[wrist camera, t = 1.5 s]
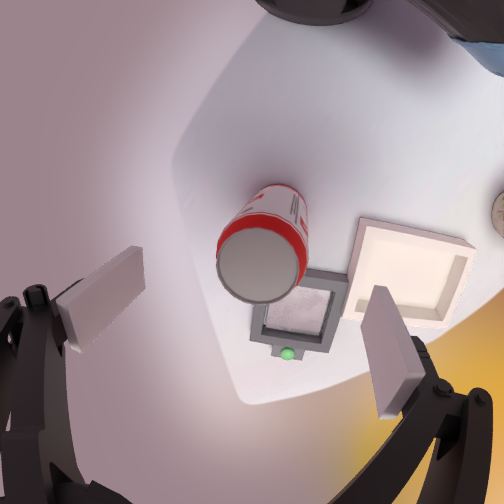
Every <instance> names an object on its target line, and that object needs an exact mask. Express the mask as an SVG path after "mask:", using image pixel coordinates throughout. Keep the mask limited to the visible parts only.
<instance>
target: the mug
mask: <svg viewBox="0 0 504 504" xmlns="http://www.w3.org/2000/svg"><path fill="white" fill-rule="evenodd" d="M492 222H493V226H494V228H495V229H496V231H497V232H498V233H499V234H500V235H501V236H502V237H503V238H504V192H503V193H501V194H500V195H499V196H498V197H497V199H496V200H495V203H494V205H493V209H492Z"/></svg>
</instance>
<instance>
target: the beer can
mask: <svg viewBox="0 0 504 504" xmlns="http://www.w3.org/2000/svg"><path fill="white" fill-rule="evenodd" d="M216 259H217V261H216V268H217V273H218V278H219V279H220V281H221V283H222V285H223V286H224V288H225V289H226V290H227V291H228V292H229V293H230V294H231V295H232V296H233V297H235V298H237V299H239V300H241V301H242V302H244V303H249V304H253V305H270V304H273V303H275V302H278V301H281V300H282V299H283V298H285V297H286V296H287V295H289V294H290V293H291V291H292V290H293V289H294V288H295V287H296V286H297V285H298V283H299V282H300V280H301V279H302V277H303V276H304V274H305V271H306V267H307V264H308V221H307V207H306V204H305V201H304V199H303V197H302V196H301V195H300V194H299V193H298V192H297V190H295V189H293V188H291V187H290V186H287V185H282V184H275V185H269V186H267V187H265V188H263V189H261V190H260V191H259V192H258V193H257V194H256V195H255V196H254V197H253V198H252V199H251V200H250V201H249V202H248V203H247V204H246V206H245V207H244V208H243V209H242V210H241V211H240V212H239V213H238V214H237V215H236V216H235V217H234V218H233V219H232V220H231V222H230V223H229V224H228V225H227V226H226V227H225V228H224V230H223V232H222V234H221V236H220V238H219V240H218V244H217V252H216Z"/></svg>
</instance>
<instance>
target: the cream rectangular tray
mask: <svg viewBox="0 0 504 504" xmlns="http://www.w3.org/2000/svg"><path fill="white" fill-rule="evenodd" d="M476 254H477V249H476V248H475V247H473V246H472V245H471V244H469V243H468V242H467V241H465V240H462V239H458V238H454V237H450V236H446V235H442V234H438V233H433V232H429V231H424V230H420V229H415V228H411V227H406V226H401V225H397V224H392V223H387V222H382V221H377V220H372V219H366V218H361V217H360V221H359V226H358V231H357V235H356V240H355V244H354V248H353V253H352V257H351V261H350V265H349V269H348V273H347V277H348V280H349V286H348V290H347V293H346V297H345V300H344V304H343V307H342V311H341V316H342V319H349V320H357V321H363V318H364V315H365V312H366V309H367V306H368V303H369V300H370V297H371V294H372V291H373V287H374V285H379V286H386V287H387V288H388V290H389V292H390V294H391V296H392V298H393V300H394V302H395V304H396V306H397V308H398V310H399V312H400V314H401V317H402V319H403V321H404V323H405V325H406V326H412V327H423V328H435V329H446V328H447V326H448V324H449V322H450V320H451V318H452V316H453V313H454V311H455V309H456V307H457V304H458V302H459V300H460V297H461V295H462V292H463V290H464V287H465V285H466V282H467V279H468V277H469V274H470V271H471V268H472V266H473V263H474V260H475V257H476Z"/></svg>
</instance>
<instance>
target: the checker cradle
mask: <svg viewBox="0 0 504 504" xmlns="http://www.w3.org/2000/svg"><path fill="white" fill-rule="evenodd" d="M297 286H300V287H306V288H312V289H319V290H326V291H332V295H331V299H330V302H329V306H328V310H327V313H326V317H325V320H324V324H323V327H322V331H321V334H319V336H318V335H311V334H304V333H297V332H291V331H285V330H278V329H273V328H267V327H266V325H263V324H264V317H265V310H266V305H254V307H253V315H252V324H251V332H250V340H249V341H253V342H259V343H265V344H270V345H273V347H272V352H271V356H276V357H282V358H283V359H284V360H291V359H295V360H302V358H303V355H304V351H305V350H309V351H317V352H324V353H329V350H330V347H331V344H332V341H333V338H334V335H335V332H336V329H337V326H338V323H339V320H340V316H341V311H342V307H343V304H344V300H345V297H346V293H347V290H348V286H349V280H348V277H347V275H345V274H338V273H332V272H326V271H319V270H313V269H307V268H306V271H305V274H304V276H303V277H302V279H301V280H300V282H299V283H298V285H297Z"/></svg>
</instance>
